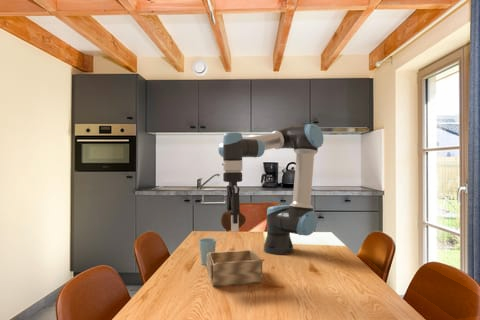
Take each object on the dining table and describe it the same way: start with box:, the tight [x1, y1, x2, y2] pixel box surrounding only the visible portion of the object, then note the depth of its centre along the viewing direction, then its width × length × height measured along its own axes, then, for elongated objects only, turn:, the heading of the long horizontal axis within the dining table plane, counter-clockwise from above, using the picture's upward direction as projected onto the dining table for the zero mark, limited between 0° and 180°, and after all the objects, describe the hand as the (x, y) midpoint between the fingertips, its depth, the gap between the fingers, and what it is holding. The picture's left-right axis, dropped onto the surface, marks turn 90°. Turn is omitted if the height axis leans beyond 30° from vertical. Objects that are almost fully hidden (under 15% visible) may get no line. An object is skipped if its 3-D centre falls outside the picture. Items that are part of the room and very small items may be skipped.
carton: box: [206, 249, 263, 288], centre depth 123 cm, size 20×17×8 cm
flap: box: [215, 258, 265, 265], centre depth 112 cm, size 17×1×6 cm
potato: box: [220, 210, 246, 231], centre depth 123 cm, size 7×10×8 cm
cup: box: [198, 237, 217, 266], centre depth 141 cm, size 8×8×10 cm
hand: (232, 229), depth 123 cm, fingers closed on potato, 7 cm apart
